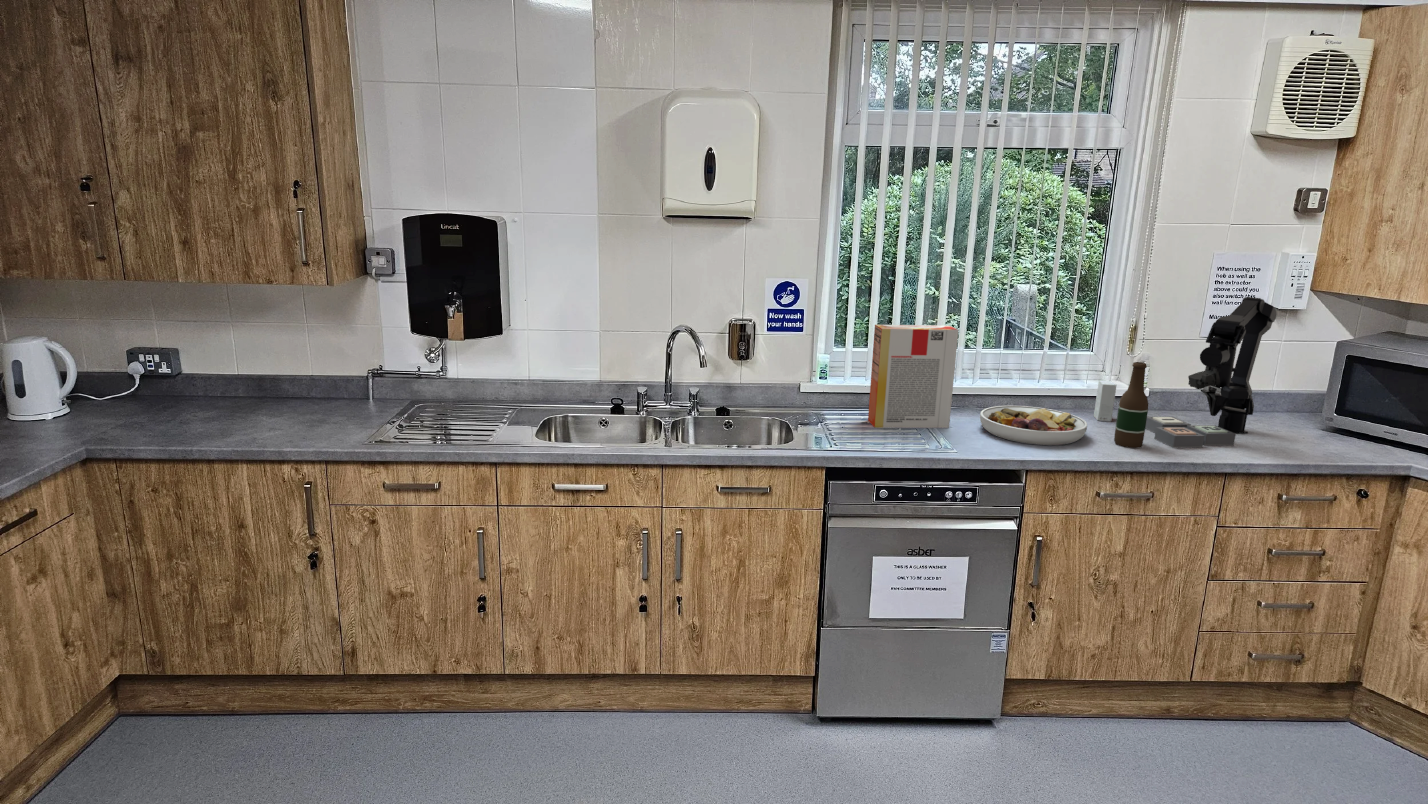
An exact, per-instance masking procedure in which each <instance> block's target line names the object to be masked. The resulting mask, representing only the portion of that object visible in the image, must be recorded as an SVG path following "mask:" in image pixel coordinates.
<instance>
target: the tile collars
mask: <svg viewBox="0 0 1428 804" xmlns="http://www.w3.org/2000/svg"><path fill="white" fill-rule="evenodd" d="M1153 417H1154V416H1147V420H1146V427H1145V430H1146V431H1149V432H1151V433H1154V440H1156V441H1158V442H1159V443H1162V444H1164V445H1165V446H1168V447H1170V448H1172V449H1199V448H1200V449H1201V448H1202V449H1203V447H1205V446H1207V447H1209V446H1210V447H1213V446H1214V447H1215V446H1216V447H1217V446H1218V447H1222V446H1223V447H1225V446H1227V447H1232V446H1235V442H1236V441H1235V440H1236V435H1237V433H1233V432H1230V431H1228V430H1225V429H1223V428H1220V427H1218V425H1216V424H1215V425H1213V424H1212V425H1209V424H1208V425H1207V424H1205V425H1204V424H1203V425H1201V424H1200V425H1197V424H1196V425H1195V424H1194V425H1192V424H1190V423H1188V422H1186V421H1184V420H1181V419H1179V418H1177V417H1175V416H1171V417H1172V418H1174V419H1177V420H1179V421H1181V422H1183V424H1164V423H1161V422H1159V421H1157V420H1155V419H1153ZM1195 426H1215V427H1218V428H1220V429H1223V430H1225V431H1228V432H1227V433H1207V432H1204V431H1202V430H1200V429H1197V428H1195ZM1164 428H1185V429H1187V430H1190V431H1192V432H1194V433H1196V435H1175V434H1173V433H1171V432H1169V431H1166V430H1164Z"/></svg>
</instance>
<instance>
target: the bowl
mask: <svg viewBox="0 0 1428 804" xmlns="http://www.w3.org/2000/svg"><path fill="white" fill-rule="evenodd" d="M979 413H980V414H979V419H980V423H981V425H982V427H983V429H984V430H985V431H987V432H989V434H992V435H993V436H995V437H998V438H1000V439H1004V440H1008V441H1011V442H1015V443H1022V444H1029V445H1037V446H1038V445H1039V446H1060V445H1062V446H1063V445H1068V444H1071V443H1075V442H1077V441H1079V440H1080V439H1082V438H1083V437H1084V436H1085V435H1086V433H1087V430H1088V422H1087V421H1086V420H1085V419H1084V418H1082V417H1079V416H1077V415H1074V414H1072V413H1069V412H1065V411H1060V410H1056V409H1050V408H1044V407H1038V406H1030V405H1029V406H1027V405H997V406H991V407H987V408H984V409H982V410H981V411H980V412H979Z"/></svg>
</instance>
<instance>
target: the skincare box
mask: <svg viewBox="0 0 1428 804" xmlns="http://www.w3.org/2000/svg"><path fill="white" fill-rule="evenodd" d="M1116 390H1117V384H1116V383H1115V382H1114V381H1110V380H1098V383H1097V390H1096V399H1095V405H1094V413H1093V417H1094V418H1095V419H1096V420H1097V421H1099V422H1112V419H1113V412H1114V407H1115V406H1114V405H1115V398H1116Z"/></svg>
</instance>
